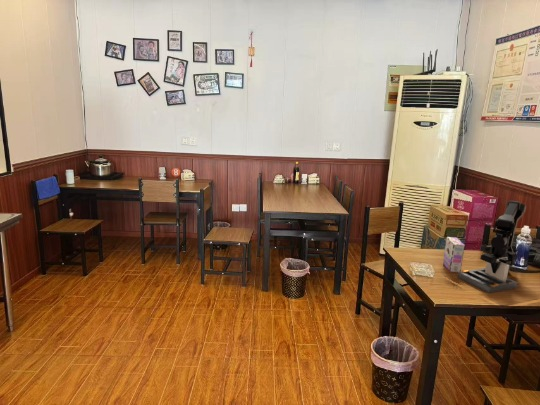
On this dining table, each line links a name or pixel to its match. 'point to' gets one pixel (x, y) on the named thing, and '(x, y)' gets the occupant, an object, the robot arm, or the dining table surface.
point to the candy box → (453, 254)
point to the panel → (498, 271)
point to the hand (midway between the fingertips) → (496, 272)
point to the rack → (486, 281)
